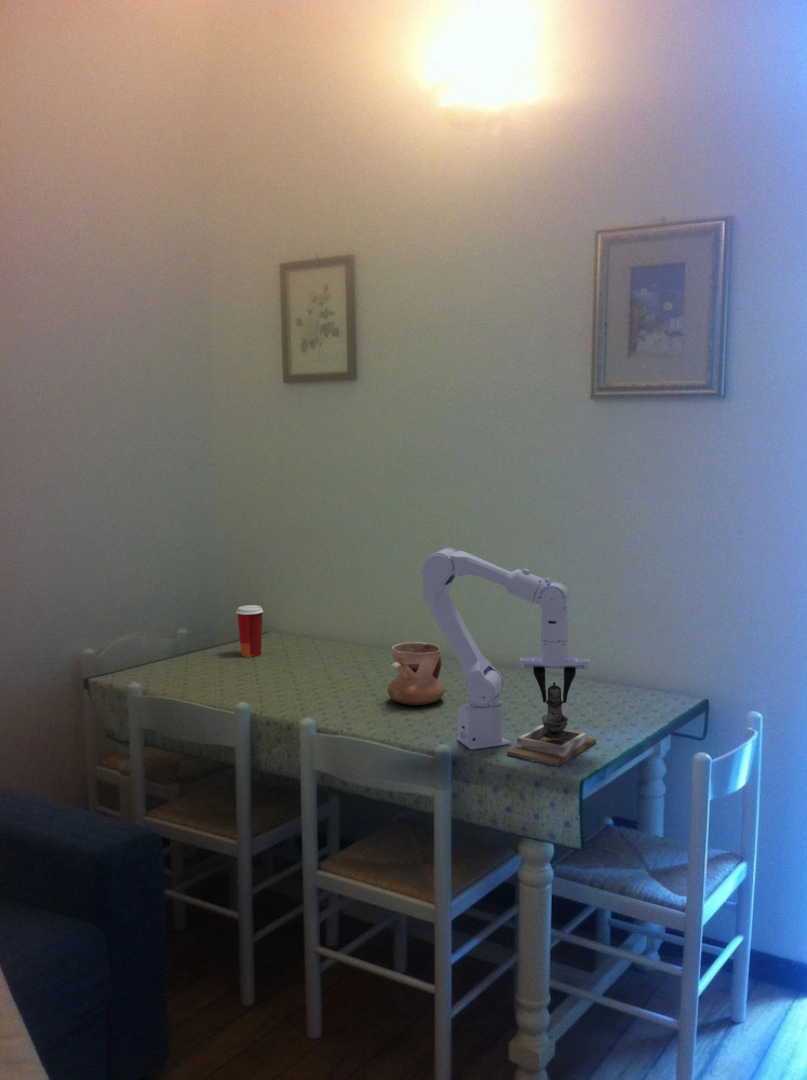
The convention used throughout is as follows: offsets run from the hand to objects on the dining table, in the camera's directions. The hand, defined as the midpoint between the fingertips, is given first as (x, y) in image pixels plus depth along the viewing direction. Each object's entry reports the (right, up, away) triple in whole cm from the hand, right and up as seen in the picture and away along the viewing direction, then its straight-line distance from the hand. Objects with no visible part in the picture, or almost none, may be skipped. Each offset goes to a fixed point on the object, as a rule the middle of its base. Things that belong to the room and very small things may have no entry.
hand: (554, 701), depth 207 cm
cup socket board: (0, -10, +1) cm, 10 cm away
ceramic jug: (-29, -7, +39) cm, 49 cm away
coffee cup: (-80, -1, +91) cm, 121 cm away
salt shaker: (0, -8, +2) cm, 8 cm away
